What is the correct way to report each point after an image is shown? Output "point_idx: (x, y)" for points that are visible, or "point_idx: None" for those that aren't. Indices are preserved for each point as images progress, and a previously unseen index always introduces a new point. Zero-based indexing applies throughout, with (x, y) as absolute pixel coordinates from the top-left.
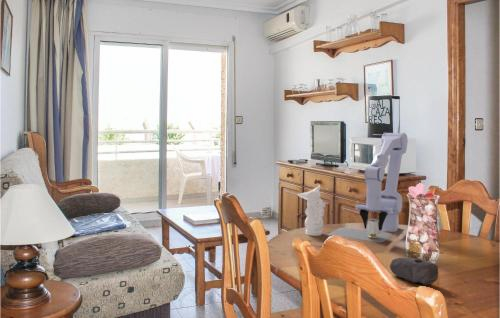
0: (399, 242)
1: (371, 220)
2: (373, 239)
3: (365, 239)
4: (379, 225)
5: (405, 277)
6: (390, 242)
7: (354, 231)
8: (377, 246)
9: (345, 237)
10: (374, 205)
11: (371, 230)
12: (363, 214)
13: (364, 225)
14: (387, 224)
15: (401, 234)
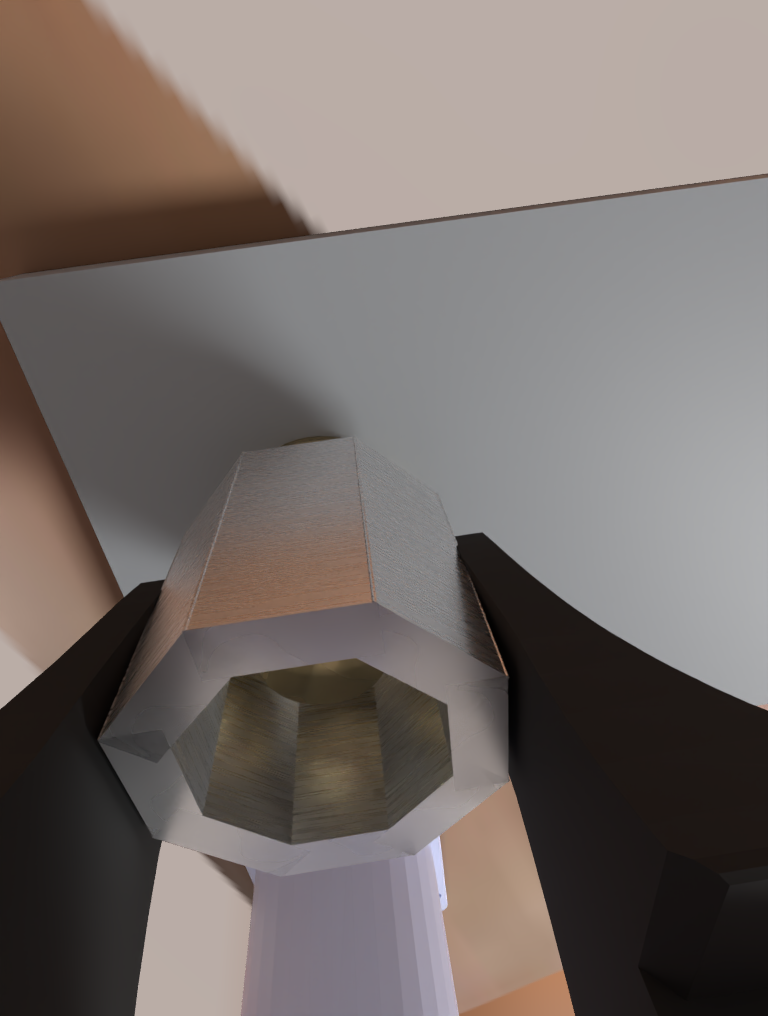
0: (19, 632)
1: (410, 784)
2: (245, 387)
3: (359, 289)
4: (109, 643)
5: None
6: (99, 565)
7: (670, 630)
8: (78, 199)
9: (748, 181)
10: None
11: (292, 477)
12: (701, 784)
13: (505, 557)
14: (321, 930)
15: (220, 871)
